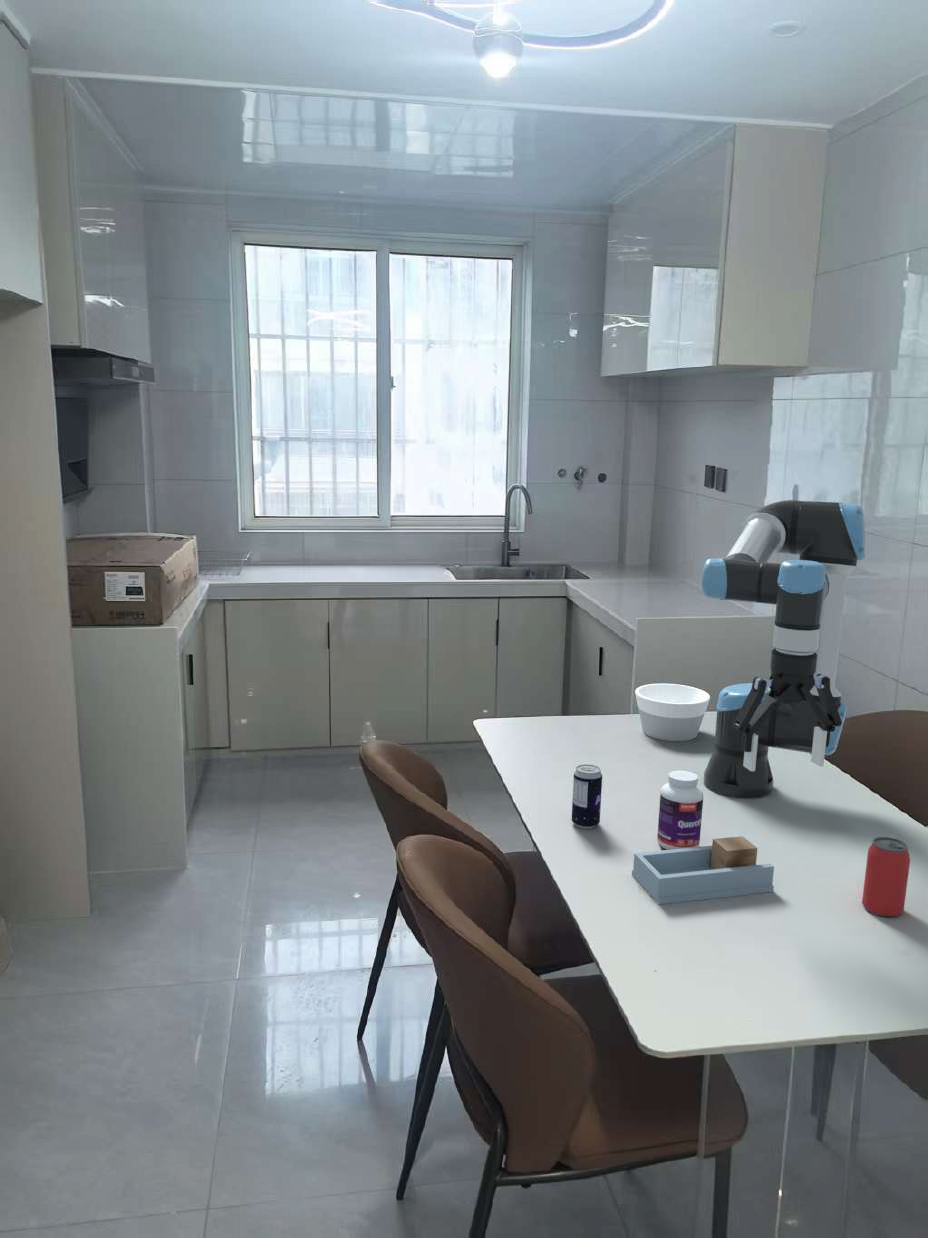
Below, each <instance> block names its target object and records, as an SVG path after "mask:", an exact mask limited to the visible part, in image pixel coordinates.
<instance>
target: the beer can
mask: <svg viewBox="0 0 928 1238" xmlns="http://www.w3.org/2000/svg"><path fill="white" fill-rule="evenodd" d="M910 863H911V857H910V852H909V845H908V844H907V843H906V842H904V841H902V840H901V839H898V838H894V837H889V836H878V837H875V838H873V839H872V842H871V843H870V846H869V847H868V851H867V857H866V867H865V874H864V882H863V891H862V899H861V903H862V905H863V908H864V909H866V910H867V911H869V913H872V914H874V915H877V916H881V917H885V918H886V917H887V918H894V917H898V916H901V915H902V914H903V913H904V911H905V903H906V896H907V889H908V887H907V886H908V880H909V872H910Z"/></svg>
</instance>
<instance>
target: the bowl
mask: <svg viewBox="0 0 928 1238" xmlns="http://www.w3.org/2000/svg"><path fill="white" fill-rule="evenodd" d="M634 693H635V699H636V703H637V708H638V713H639V718H640V723H641V728H642V729H641V730H642V733H644V734H645V735H647V736H648V737H651V738H654V739H657V740H661V741H669V742H685V741H689V740H690V741H691V740H693V739H695V738H697V736H698V733H699V731H700V728H701V726H702V722H703V720H704V716H705V713H706V711H707V708H708V706H709V702H710V699H711V695H710V694H709V693H708V692H706V691H704V690H703V689H699V688H696V687H693V686H689V685H685V684H676V683H650V684H644V685H641V686H638V687H637V688H636V689H635V691H634Z"/></svg>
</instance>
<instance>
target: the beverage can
mask: <svg viewBox="0 0 928 1238" xmlns="http://www.w3.org/2000/svg"><path fill="white" fill-rule="evenodd" d="M572 781H573V783H572V785H573V786H572V804H571V806H572V807H571V822H572V823H573V824H574V825H575V826H576V827H577V828H580V829H583V830H589V829H590V830H592V829H595V828H596V827H597V826H598V825H599V824H600V821H601V808H602V807H601V806H602V789H603V774H602V769H601V767H600V766H597V765H594V764H580V765H579V764H578V765H577V766H576V767H575V771H574V773H573V780H572Z"/></svg>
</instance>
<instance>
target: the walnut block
mask: <svg viewBox="0 0 928 1238" xmlns="http://www.w3.org/2000/svg"><path fill="white" fill-rule="evenodd" d="M711 846H712V855H711V867H710V870H714V869H723V868H733V867H742V866H752V865H757V859H758V858H757V856H758V847H757V846H756V845H754V844H753V843H752V842H751V841H749V840H748V839H747V838H745V837H744V836H743V835H740V836H732V837H731V836H730V837H721V838H712V844H711Z"/></svg>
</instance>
